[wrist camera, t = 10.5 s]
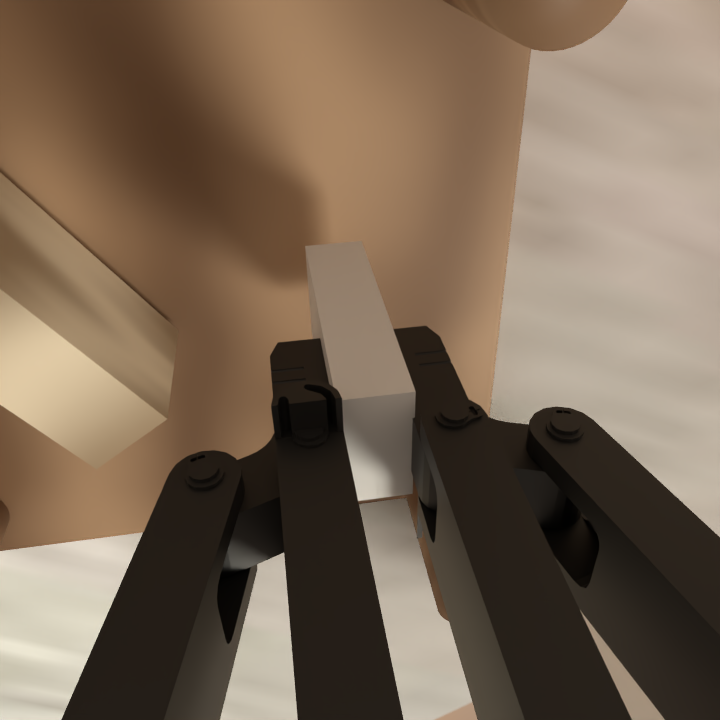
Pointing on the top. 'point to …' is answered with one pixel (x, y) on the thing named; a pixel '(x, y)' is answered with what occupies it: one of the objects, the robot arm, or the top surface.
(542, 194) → the top surface
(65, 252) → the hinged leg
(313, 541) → the robot arm
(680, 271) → the top surface
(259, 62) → the wooden peg board
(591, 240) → the top surface
